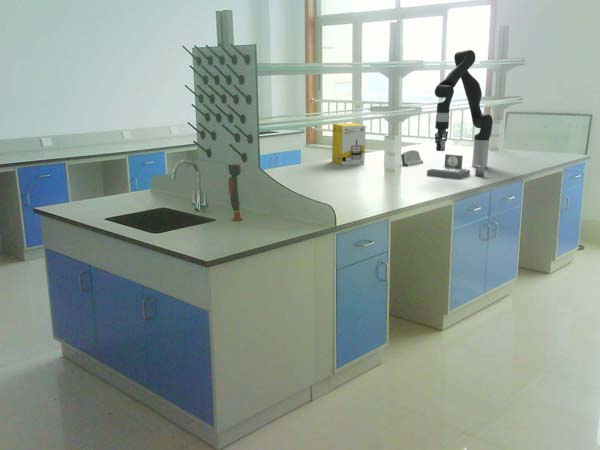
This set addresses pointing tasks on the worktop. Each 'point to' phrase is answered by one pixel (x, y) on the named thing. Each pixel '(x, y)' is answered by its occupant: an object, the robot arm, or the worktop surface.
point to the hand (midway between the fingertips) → (440, 149)
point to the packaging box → (348, 144)
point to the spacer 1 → (441, 146)
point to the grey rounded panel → (411, 158)
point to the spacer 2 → (479, 171)
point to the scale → (450, 168)
